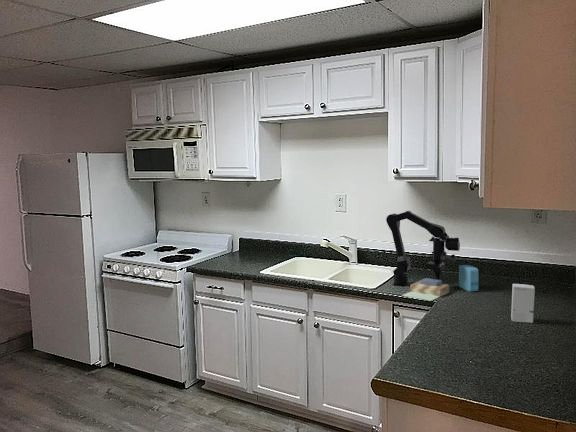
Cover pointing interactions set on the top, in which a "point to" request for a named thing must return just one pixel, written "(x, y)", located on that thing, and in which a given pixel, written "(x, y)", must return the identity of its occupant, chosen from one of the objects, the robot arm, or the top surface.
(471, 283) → the data package
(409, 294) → the mat
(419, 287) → the beige shallow box
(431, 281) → the block
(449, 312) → the top surface
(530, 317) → the skincare box
